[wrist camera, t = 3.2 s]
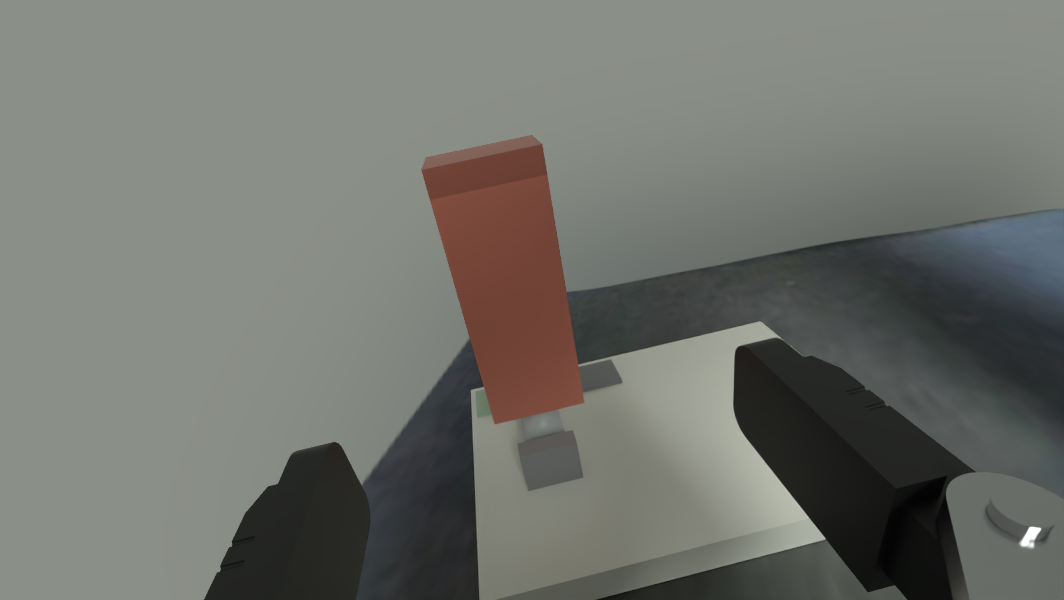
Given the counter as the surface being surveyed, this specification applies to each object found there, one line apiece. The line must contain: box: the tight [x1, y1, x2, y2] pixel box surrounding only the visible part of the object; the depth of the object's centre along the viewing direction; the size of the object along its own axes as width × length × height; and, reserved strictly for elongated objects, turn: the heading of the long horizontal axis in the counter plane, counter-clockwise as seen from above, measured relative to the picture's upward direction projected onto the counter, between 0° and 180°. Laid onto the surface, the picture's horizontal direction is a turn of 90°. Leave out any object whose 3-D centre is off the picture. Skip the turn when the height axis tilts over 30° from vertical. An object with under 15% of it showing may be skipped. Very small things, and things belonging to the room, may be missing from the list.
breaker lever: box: [422, 135, 584, 442], centre depth 19 cm, size 4×3×13 cm
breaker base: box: [471, 321, 826, 600], centre depth 21 cm, size 18×12×4 cm
